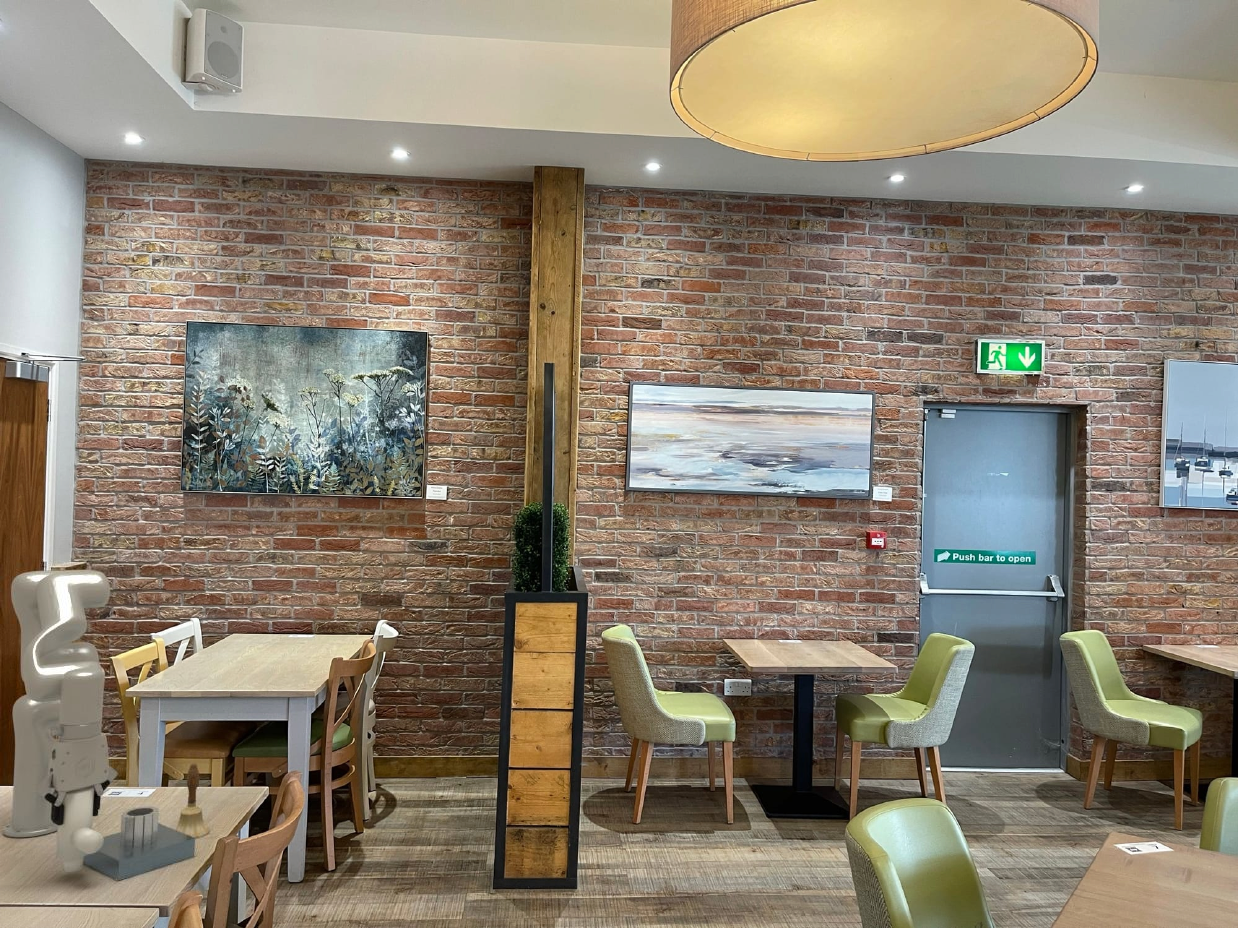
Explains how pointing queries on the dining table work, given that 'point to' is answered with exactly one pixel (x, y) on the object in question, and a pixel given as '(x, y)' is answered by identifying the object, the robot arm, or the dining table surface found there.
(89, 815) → the white tall branched piece
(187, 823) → the hand bell
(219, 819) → the dining table surface
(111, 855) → the vent box
